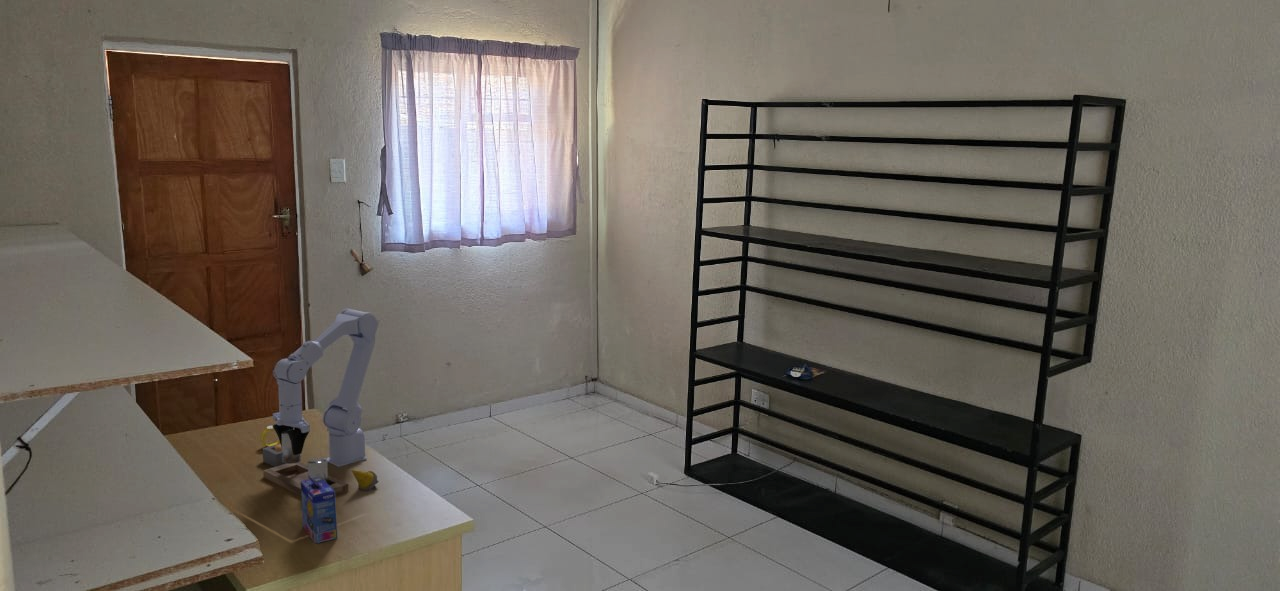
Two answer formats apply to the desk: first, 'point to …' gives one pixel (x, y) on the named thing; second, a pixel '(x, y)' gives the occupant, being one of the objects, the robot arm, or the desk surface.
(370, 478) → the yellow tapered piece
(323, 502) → the ink cartridge box
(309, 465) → the cylinder
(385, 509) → the desk surface
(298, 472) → the frame
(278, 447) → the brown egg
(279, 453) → the button housing
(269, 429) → the watch
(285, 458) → the steel billet
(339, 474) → the desk surface
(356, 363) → the robot arm
